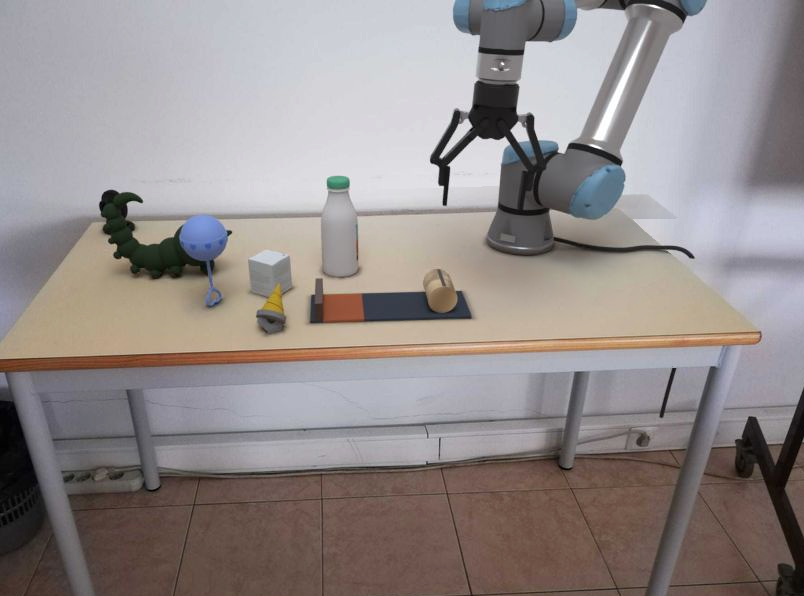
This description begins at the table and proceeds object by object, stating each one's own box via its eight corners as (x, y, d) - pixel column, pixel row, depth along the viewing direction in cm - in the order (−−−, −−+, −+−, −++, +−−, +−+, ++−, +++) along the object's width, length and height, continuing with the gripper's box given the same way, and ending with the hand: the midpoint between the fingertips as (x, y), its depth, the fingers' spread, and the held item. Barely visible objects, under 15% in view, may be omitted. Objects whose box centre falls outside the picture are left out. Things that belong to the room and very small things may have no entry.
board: (461, 292, 136) (462, 274, 134) (471, 318, 127) (473, 299, 125) (311, 296, 135) (310, 278, 133) (310, 323, 125) (309, 303, 123)
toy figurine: (118, 290, 141) (237, 277, 142) (90, 203, 132) (218, 188, 132) (128, 272, 149) (242, 259, 150) (103, 188, 140) (224, 174, 140)
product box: (269, 281, 141) (266, 248, 137) (293, 287, 138) (291, 254, 135) (250, 292, 137) (247, 258, 133) (274, 299, 134) (271, 265, 130)
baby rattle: (213, 319, 127) (201, 227, 118) (180, 308, 131) (165, 218, 122) (244, 301, 133) (235, 213, 124) (211, 291, 137) (200, 205, 128)
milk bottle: (354, 279, 142) (352, 184, 132) (318, 276, 143) (314, 182, 133) (362, 264, 149) (361, 173, 138) (327, 262, 150) (324, 171, 140)
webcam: (96, 231, 167) (87, 191, 162) (120, 222, 172) (112, 183, 167) (118, 237, 163) (109, 196, 158) (142, 228, 169) (134, 188, 163)
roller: (449, 294, 135) (452, 269, 132) (455, 313, 128) (459, 286, 125) (421, 294, 134) (424, 268, 131) (426, 312, 127) (429, 285, 125)
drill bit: (249, 332, 123) (261, 282, 126) (276, 341, 125) (288, 290, 128) (256, 327, 118) (269, 274, 121) (285, 335, 120) (297, 283, 123)
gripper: (422, 79, 111) (412, 207, 121) (577, 88, 109) (554, 216, 120) (422, 74, 117) (413, 196, 127) (569, 82, 116) (548, 204, 126)
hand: (482, 206), depth 123 cm, fingers open, 13 cm apart
